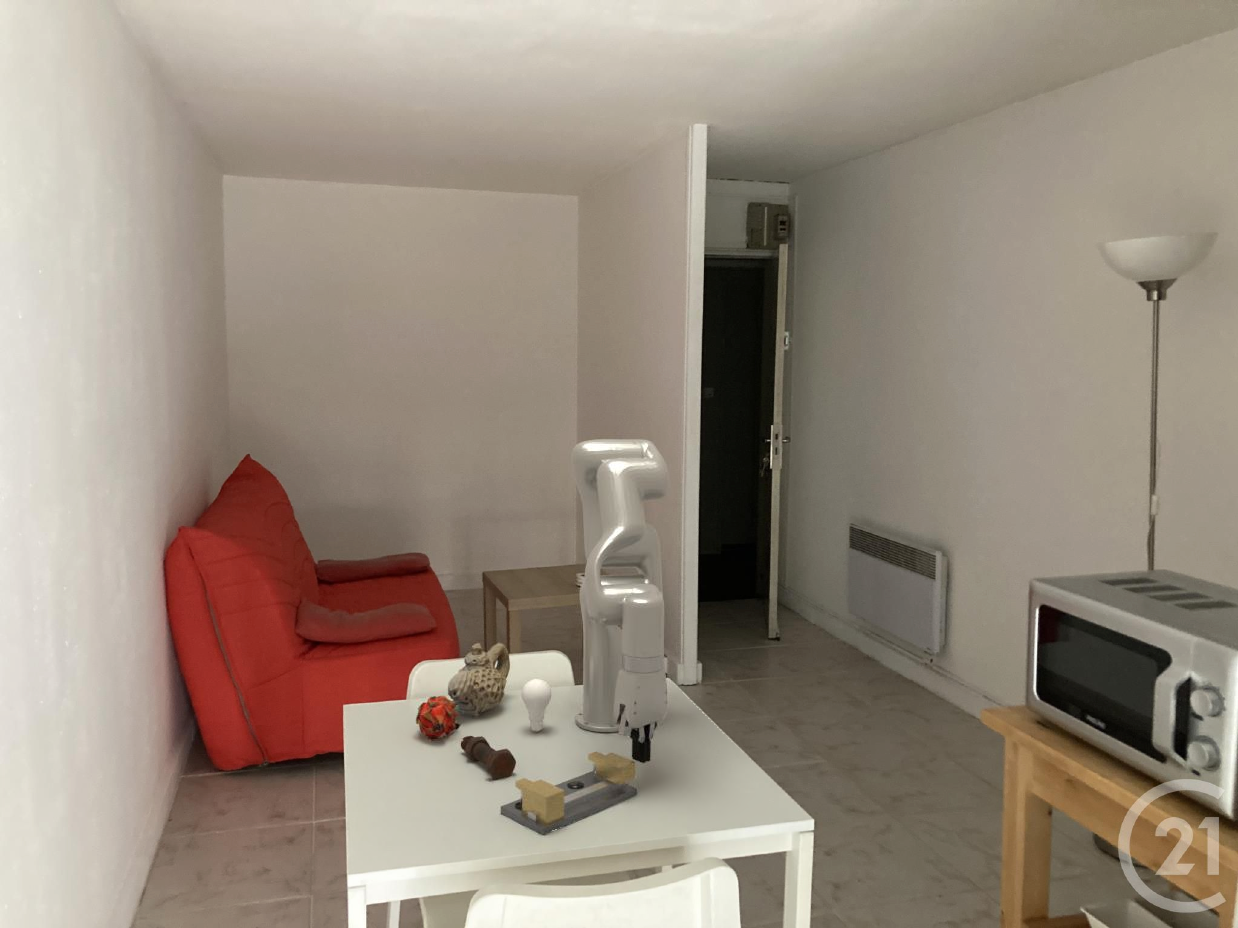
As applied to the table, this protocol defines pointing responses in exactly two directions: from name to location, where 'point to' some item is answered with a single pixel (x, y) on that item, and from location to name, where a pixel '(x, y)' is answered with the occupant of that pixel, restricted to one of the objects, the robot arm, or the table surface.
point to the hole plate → (564, 801)
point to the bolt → (489, 756)
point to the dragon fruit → (437, 717)
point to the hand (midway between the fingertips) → (641, 759)
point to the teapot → (480, 680)
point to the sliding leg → (613, 767)
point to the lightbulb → (536, 701)
